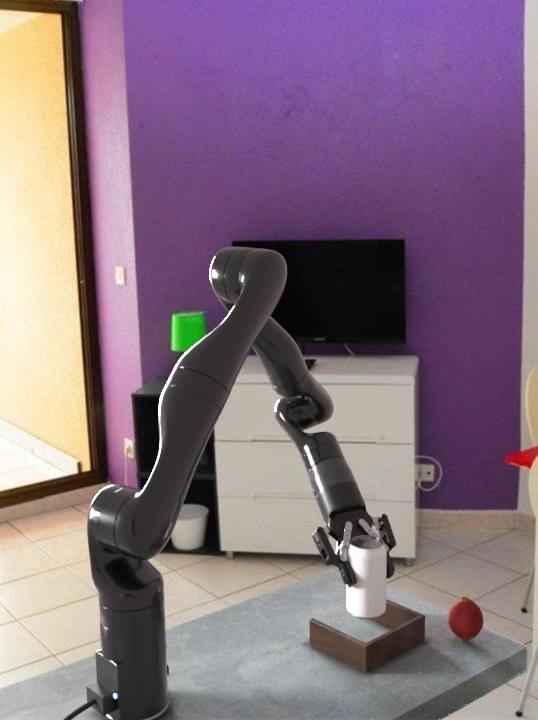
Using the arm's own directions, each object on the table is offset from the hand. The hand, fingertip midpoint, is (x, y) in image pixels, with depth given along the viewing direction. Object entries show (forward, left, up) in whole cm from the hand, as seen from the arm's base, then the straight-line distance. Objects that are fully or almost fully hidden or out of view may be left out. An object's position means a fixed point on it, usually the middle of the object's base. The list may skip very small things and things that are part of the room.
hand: (372, 580), depth 147 cm
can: (0, +2, -6) cm, 6 cm away
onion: (+13, -10, -12) cm, 20 cm away
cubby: (+1, +1, -12) cm, 12 cm away
